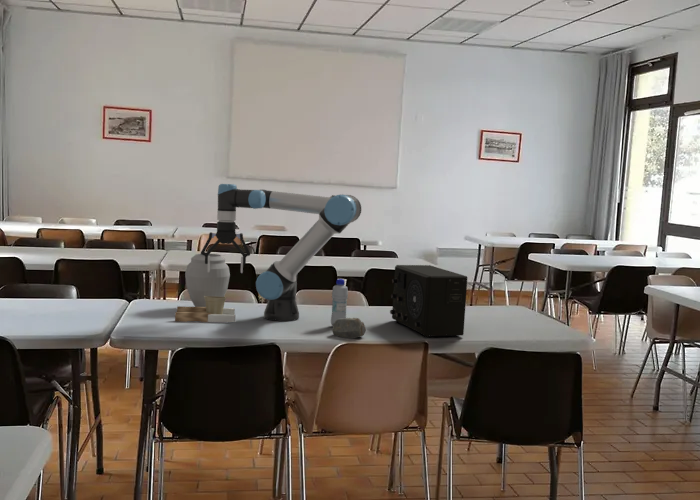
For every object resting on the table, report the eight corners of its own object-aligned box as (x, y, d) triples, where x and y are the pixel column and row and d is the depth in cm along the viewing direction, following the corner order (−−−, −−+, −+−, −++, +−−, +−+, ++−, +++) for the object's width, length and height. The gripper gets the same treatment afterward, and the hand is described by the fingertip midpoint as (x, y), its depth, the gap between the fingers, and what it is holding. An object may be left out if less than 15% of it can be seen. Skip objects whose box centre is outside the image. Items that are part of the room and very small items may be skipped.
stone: (330, 336, 271) (331, 316, 271) (337, 332, 279) (339, 313, 278) (360, 340, 267) (361, 320, 267) (367, 336, 275) (368, 317, 274)
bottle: (334, 328, 285) (337, 280, 283) (327, 325, 291) (329, 277, 289) (349, 328, 288) (351, 280, 287) (341, 324, 294) (344, 277, 292)
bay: (234, 315, 302) (234, 308, 302) (235, 322, 287) (235, 315, 287) (208, 314, 300) (208, 307, 300) (207, 322, 285) (208, 314, 285)
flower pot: (216, 318, 287) (217, 297, 287) (198, 317, 291) (199, 296, 292) (230, 317, 295) (231, 297, 296) (212, 316, 300) (213, 295, 300)
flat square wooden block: (210, 315, 300) (211, 307, 299) (210, 321, 286) (210, 313, 286) (177, 314, 297) (177, 306, 297) (175, 321, 283) (175, 312, 283)
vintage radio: (384, 319, 310) (387, 263, 308) (424, 319, 317) (428, 264, 314) (420, 339, 275) (424, 276, 273) (464, 338, 282) (468, 276, 279)
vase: (184, 313, 300) (185, 257, 298) (183, 305, 319) (185, 252, 317) (230, 313, 305) (232, 258, 303) (227, 305, 324) (229, 253, 321)
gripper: (256, 221, 296) (254, 271, 298) (195, 219, 291) (194, 270, 293) (257, 222, 288) (255, 273, 290) (195, 220, 284) (194, 272, 286)
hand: (225, 272), depth 292 cm, fingers open, 13 cm apart
